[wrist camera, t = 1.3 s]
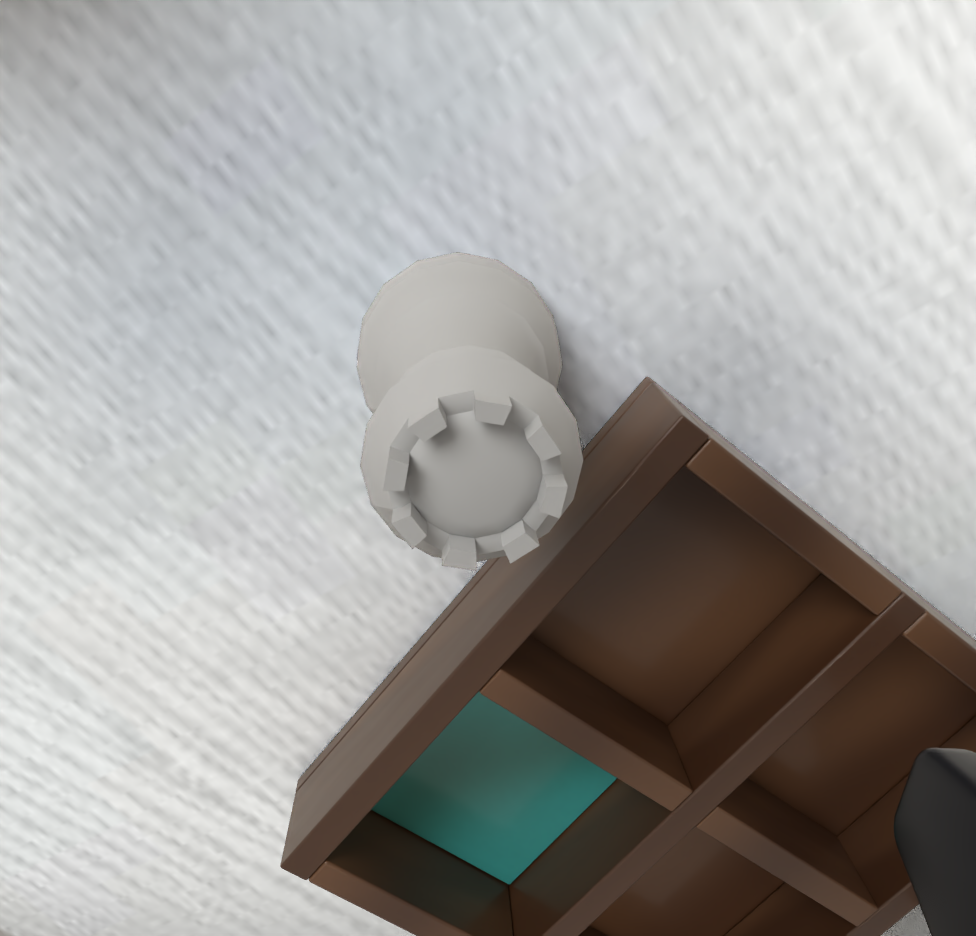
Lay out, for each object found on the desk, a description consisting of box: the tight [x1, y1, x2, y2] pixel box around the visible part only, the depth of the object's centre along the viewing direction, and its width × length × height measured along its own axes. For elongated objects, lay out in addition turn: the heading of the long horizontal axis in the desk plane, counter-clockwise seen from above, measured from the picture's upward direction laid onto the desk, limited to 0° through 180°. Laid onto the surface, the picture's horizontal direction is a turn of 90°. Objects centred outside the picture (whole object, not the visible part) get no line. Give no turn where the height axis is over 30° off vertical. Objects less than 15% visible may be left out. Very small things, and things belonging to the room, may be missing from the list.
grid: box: [280, 377, 976, 936], centre depth 22 cm, size 14×14×3 cm
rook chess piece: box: [357, 252, 583, 571], centre depth 15 cm, size 4×4×8 cm
